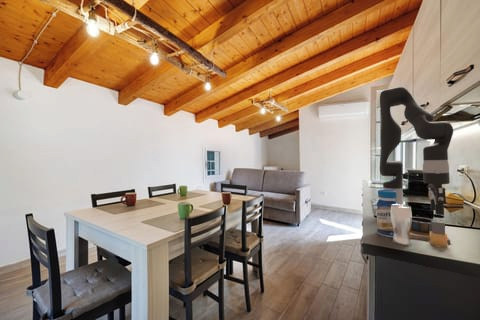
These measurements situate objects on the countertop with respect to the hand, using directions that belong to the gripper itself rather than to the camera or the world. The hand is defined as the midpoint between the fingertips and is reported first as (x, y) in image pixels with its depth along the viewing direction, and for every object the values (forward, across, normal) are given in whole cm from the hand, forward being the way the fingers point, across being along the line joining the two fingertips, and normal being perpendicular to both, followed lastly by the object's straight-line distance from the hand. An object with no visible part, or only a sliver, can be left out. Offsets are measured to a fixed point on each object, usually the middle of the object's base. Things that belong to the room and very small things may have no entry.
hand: (437, 212), depth 79 cm
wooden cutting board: (+13, -13, -3) cm, 19 cm away
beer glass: (+13, +4, -12) cm, 18 cm away
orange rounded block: (+13, 0, 0) cm, 13 cm away
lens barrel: (+11, -13, -3) cm, 18 cm away
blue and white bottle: (+13, -3, -16) cm, 21 cm away
